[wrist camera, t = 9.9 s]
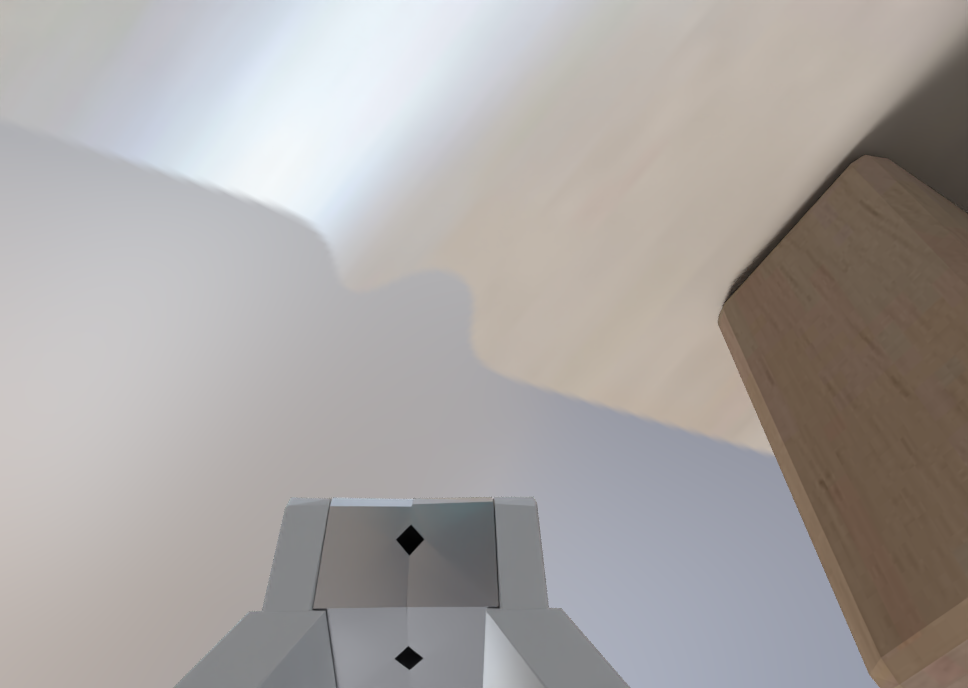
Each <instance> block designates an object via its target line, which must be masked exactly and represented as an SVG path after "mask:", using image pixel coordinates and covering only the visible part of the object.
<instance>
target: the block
mask: <svg viewBox="0 0 968 688" xmlns="http://www.w3.org/2000/svg"><path fill="white" fill-rule="evenodd" d="M718 325H719V327H720V330H721V332H722V334H723V337H724V339H725V341H726V343H727V346H728V348H729V350H730V353H731V355H732V357H733V360H734V362H735V364H736V367H737V369H738V371H739V374H740V376H741V378H742V381H743V383H744V385H745V388H746V390H747V392H748V394H749V397H750V399H751V401H752V404H753V406H754V408H755V411H756V413H757V415H758V418H759V420H760V422H761V425H762V427H763V429H764V432H765V434H766V436H767V438H768V441H769V443H770V445H771V448H772V450H773V452H774V455H775V457H776V459H777V462H778V464H779V466H780V469H781V471H782V473H783V475H784V478H785V480H786V483H787V485H788V487H789V489H790V492H791V494H792V496H793V499H794V501H795V503H796V505H797V508H798V510H799V513H800V515H801V517H802V519H803V522H804V524H805V527H806V529H807V531H808V533H809V536H810V538H811V540H812V543H813V545H814V547H815V550H816V552H817V554H818V557H819V559H820V561H821V564H822V566H823V568H824V571H825V573H826V575H827V578H828V580H829V582H830V584H831V587H832V589H833V591H834V594H835V596H836V598H837V601H838V603H839V605H840V608H841V610H842V612H843V615H844V617H845V619H846V621H847V624H848V626H849V628H850V631H851V633H852V636H853V638H854V640H855V642H856V645H857V647H858V649H859V652H860V654H861V656H862V658H863V661H864V663H865V666H866V668H867V670H868V673H869V675H870V676H871V677H872V679H874V681H875V682H876V683H877V685H878V686H879V687H880V688H968V213H966V212H965V211H963V210H962V209H960V208H959V207H957V206H956V205H955V204H953V203H952V202H950V201H949V200H947V199H946V198H945V197H943V196H942V195H940V194H939V193H937V192H936V191H934V190H933V189H932V188H930V187H929V186H927V185H926V184H924V183H923V182H921V181H920V180H919V179H917V178H916V177H914V176H913V175H911V174H910V173H908V172H907V171H906V170H904V169H903V168H901V167H900V166H898V165H897V164H895V163H894V162H893V161H891V160H890V159H888V158H882V157H875V156H869V155H864V156H862V157H860V158H859V159H857V160H856V161H854V162H852V163H851V164H850V165H849V166H848V167H847V168H846V170H845V171H844V172H843V173H842V174H841V175H840V176H839V177H838V178H837V180H836V181H835V182H834V183H833V184H832V185H831V186H830V187H829V188H828V189H827V191H826V192H825V193H824V194H823V195H822V196H821V197H820V198H819V199H818V201H817V202H816V203H815V204H814V205H813V206H812V207H811V208H810V209H809V211H808V212H807V213H806V214H805V215H804V216H803V217H802V218H801V219H800V220H799V222H798V223H797V224H796V225H795V226H794V227H793V228H792V229H791V230H790V232H789V233H788V234H787V235H786V236H785V237H784V238H783V239H782V240H781V242H780V243H779V244H778V245H777V246H776V247H775V248H774V249H773V250H772V251H771V253H770V254H769V255H768V256H767V257H766V258H765V259H764V260H763V261H762V263H761V264H760V265H759V266H758V267H757V268H756V269H755V270H754V271H753V273H752V274H751V275H750V276H749V277H748V278H747V279H746V280H745V281H744V282H743V284H742V285H741V286H740V287H739V288H738V289H737V290H736V291H735V292H734V294H733V295H732V296H731V297H730V298H729V299H728V300H727V301H726V302H725V304H724V305H723V308H722V310H721V312H720V314H719V318H718Z"/></svg>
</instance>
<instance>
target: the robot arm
mask: <svg viewBox="0 0 968 688" xmlns="http://www.w3.org/2000/svg"><path fill="white" fill-rule="evenodd" d="M541 544H542V543H541V535H540V526H539V517H538V508H537V502H536V501H535V499H534V498H533V497H494V499H492V497H471V498H470V497H469V498H467V497H466V498H413V499H376V498H291V499H290V500H289V502H288V504H287V506H286V507H285V511H284V515H283V520H282V524H281V529H280V534H279V537H278V542H277V546H276V551H275V555H274V559H273V564H272V568H271V573H270V578H269V582H268V586H267V590H266V595H265V599H264V604H263V609H262V611H249V612H248V613H247V614H246V615H245V616H244V617H243V618H242V619H241V620H240V621H239V622H238V623H237V624H236V625H235V626H234V627H233V628H232V629H231V630H230V631H229V632H228V633H227V634H226V635H225V636H224V637H223V638H222V639H221V640H220V641H219V642H218V643H217V644H216V645H215V646H214V647H213V648H212V649H211V650H210V651H209V652H208V653H207V654H206V655H205V656H204V657H203V658H202V659H201V660H200V661H199V662H198V663H197V664H196V665H195V666H194V667H193V668H192V669H191V670H190V671H189V672H188V673H187V674H186V675H185V676H184V677H183V678H182V679H181V680H180V682H178V684H176V685H175V686H174V687H173V688H630V687H629V686H628V684H627V683H626V682H625V681H624V680H623V679H622V678H621V677H620V675H619V674H618V673H617V672H616V671H615V670H614V668H612V666H611V665H610V664H609V663H608V661H607V660H606V659H605V658H604V657H603V656H602V655H601V653H600V652H599V651H598V650H597V649H596V648H595V647H594V645H593V644H592V643H591V642H590V641H589V640H588V638H587V637H586V636H585V635H584V634H583V633H582V632H581V630H580V629H579V628H578V627H577V626H576V625H575V623H574V622H573V621H572V620H571V619H570V618H569V617H568V615H567V614H566V613H565V612H564V611H563V610H562V609H561V608H549V606H548V597H547V588H546V578H545V570H544V562H543V552H542V545H541Z"/></svg>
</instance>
